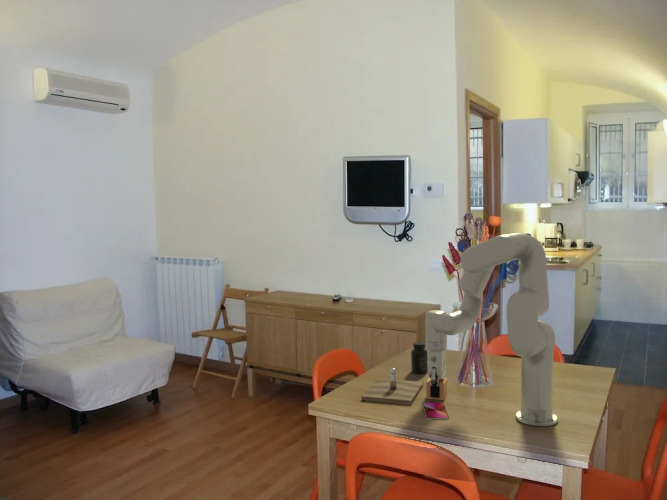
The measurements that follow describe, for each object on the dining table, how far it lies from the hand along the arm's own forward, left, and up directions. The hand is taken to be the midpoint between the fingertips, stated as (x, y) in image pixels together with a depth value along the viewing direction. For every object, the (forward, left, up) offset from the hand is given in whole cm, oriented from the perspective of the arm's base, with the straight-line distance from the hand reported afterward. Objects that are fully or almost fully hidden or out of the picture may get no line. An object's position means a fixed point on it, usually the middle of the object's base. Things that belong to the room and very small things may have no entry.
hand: (436, 393), depth 213 cm
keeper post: (0, +16, 0) cm, 16 cm away
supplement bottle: (+29, +12, -1) cm, 31 cm away
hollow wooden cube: (0, 0, -1) cm, 1 cm away
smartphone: (-15, -2, -2) cm, 15 cm away
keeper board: (0, +16, -1) cm, 16 cm away
